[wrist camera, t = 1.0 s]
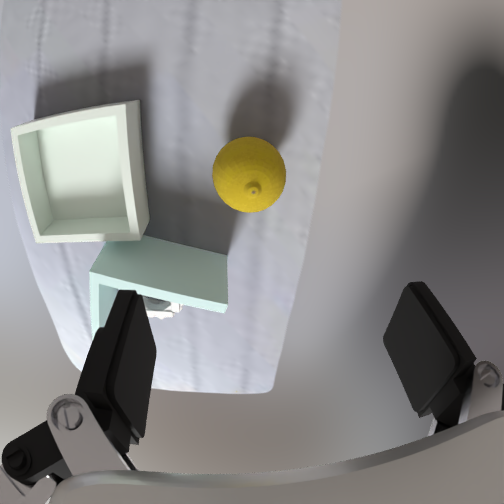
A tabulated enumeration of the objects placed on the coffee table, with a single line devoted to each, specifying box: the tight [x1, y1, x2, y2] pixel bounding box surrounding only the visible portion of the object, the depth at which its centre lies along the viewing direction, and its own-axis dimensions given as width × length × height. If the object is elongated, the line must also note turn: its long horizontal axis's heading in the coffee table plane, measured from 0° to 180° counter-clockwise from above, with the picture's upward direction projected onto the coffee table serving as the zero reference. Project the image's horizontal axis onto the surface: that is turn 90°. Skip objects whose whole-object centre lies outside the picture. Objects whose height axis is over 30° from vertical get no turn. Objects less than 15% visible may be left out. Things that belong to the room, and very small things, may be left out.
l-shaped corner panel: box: [89, 235, 228, 340], centre depth 30 cm, size 12×12×8 cm
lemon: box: [212, 137, 286, 213], centre depth 22 cm, size 6×6×8 cm
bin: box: [11, 100, 150, 243], centre depth 23 cm, size 12×12×4 cm
